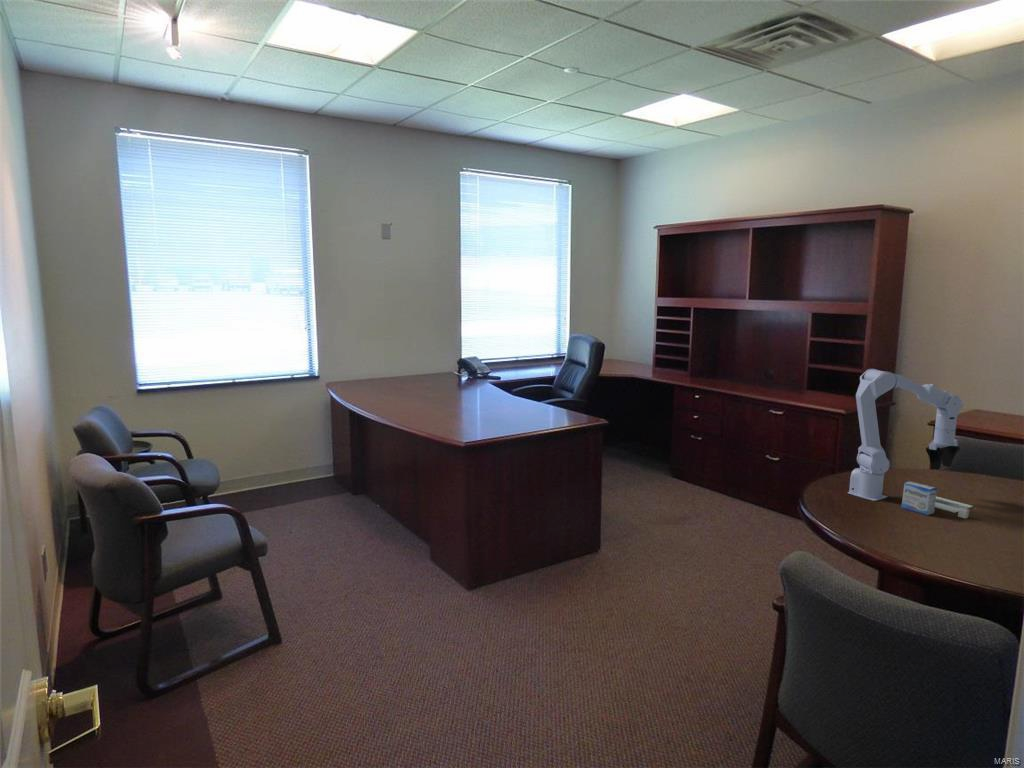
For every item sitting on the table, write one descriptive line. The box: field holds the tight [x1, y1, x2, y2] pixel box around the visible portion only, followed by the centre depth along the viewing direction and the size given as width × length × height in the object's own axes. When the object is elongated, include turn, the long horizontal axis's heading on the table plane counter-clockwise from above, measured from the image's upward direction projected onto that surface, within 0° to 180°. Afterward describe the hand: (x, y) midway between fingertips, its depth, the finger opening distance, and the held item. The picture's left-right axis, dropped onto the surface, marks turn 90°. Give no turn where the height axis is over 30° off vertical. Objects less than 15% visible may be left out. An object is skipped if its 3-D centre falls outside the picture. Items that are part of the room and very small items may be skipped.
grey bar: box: [935, 498, 970, 510], centre depth 195 cm, size 18×1×1 cm, turn 30°
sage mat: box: [935, 495, 974, 514], centre depth 201 cm, size 14×12×1 cm
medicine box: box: [901, 481, 938, 516], centre depth 194 cm, size 8×4×9 cm, turn 30°
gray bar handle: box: [957, 509, 970, 519], centre depth 196 cm, size 18×2×2 cm, turn 30°
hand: (940, 467), depth 207 cm, fingers open, 7 cm apart
